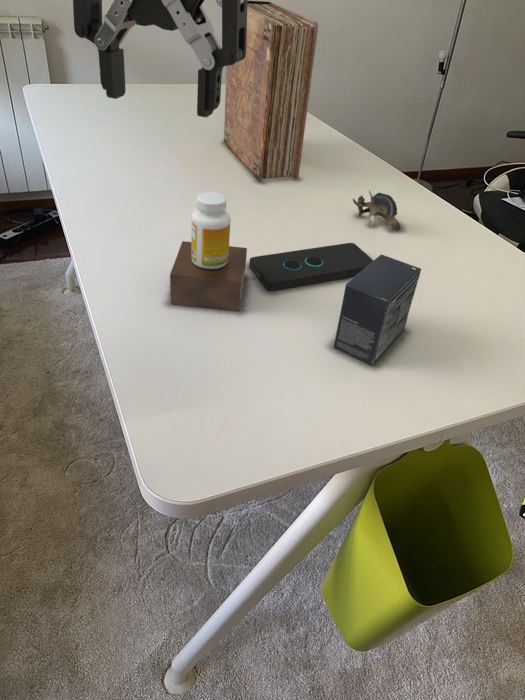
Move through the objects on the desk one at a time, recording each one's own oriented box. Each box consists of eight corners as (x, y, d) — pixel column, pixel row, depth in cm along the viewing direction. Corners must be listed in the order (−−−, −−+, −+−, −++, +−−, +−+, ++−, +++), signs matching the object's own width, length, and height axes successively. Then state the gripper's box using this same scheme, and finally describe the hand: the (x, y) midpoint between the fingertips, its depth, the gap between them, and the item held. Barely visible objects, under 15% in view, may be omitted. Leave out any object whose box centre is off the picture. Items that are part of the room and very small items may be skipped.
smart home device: (248, 256, 89) (352, 241, 96) (247, 265, 90) (350, 249, 97) (269, 282, 83) (379, 264, 91) (268, 292, 84) (376, 273, 92)
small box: (365, 313, 82) (380, 251, 76) (405, 331, 79) (424, 268, 73) (330, 347, 75) (343, 281, 69) (372, 367, 72) (391, 301, 66)
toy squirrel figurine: (347, 220, 104) (393, 225, 100) (355, 182, 104) (402, 186, 100) (359, 229, 111) (403, 234, 107) (367, 193, 110) (411, 198, 106)
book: (298, 180, 121) (319, 23, 102) (259, 182, 118) (273, 21, 99) (258, 140, 139) (269, 1, 120) (223, 142, 136) (229, -1, 117)
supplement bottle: (235, 259, 81) (239, 197, 75) (213, 274, 78) (216, 210, 72) (206, 248, 83) (207, 186, 77) (183, 261, 80) (183, 198, 74)
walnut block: (170, 304, 80) (169, 274, 77) (182, 269, 88) (182, 241, 84) (239, 311, 80) (241, 282, 77) (244, 275, 88) (247, 247, 84)
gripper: (34, -158, 37) (64, 100, 47) (235, -134, 34) (221, 133, 44) (94, -145, 42) (109, 83, 52) (270, -124, 40) (250, 111, 50)
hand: (160, 105), depth 48 cm, fingers open, 8 cm apart
